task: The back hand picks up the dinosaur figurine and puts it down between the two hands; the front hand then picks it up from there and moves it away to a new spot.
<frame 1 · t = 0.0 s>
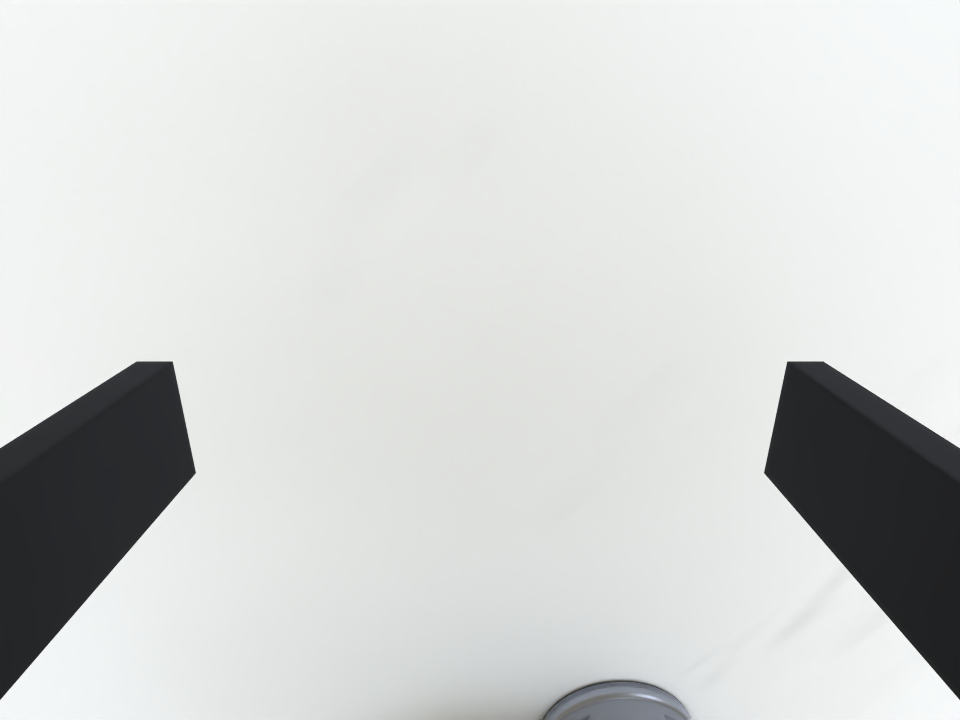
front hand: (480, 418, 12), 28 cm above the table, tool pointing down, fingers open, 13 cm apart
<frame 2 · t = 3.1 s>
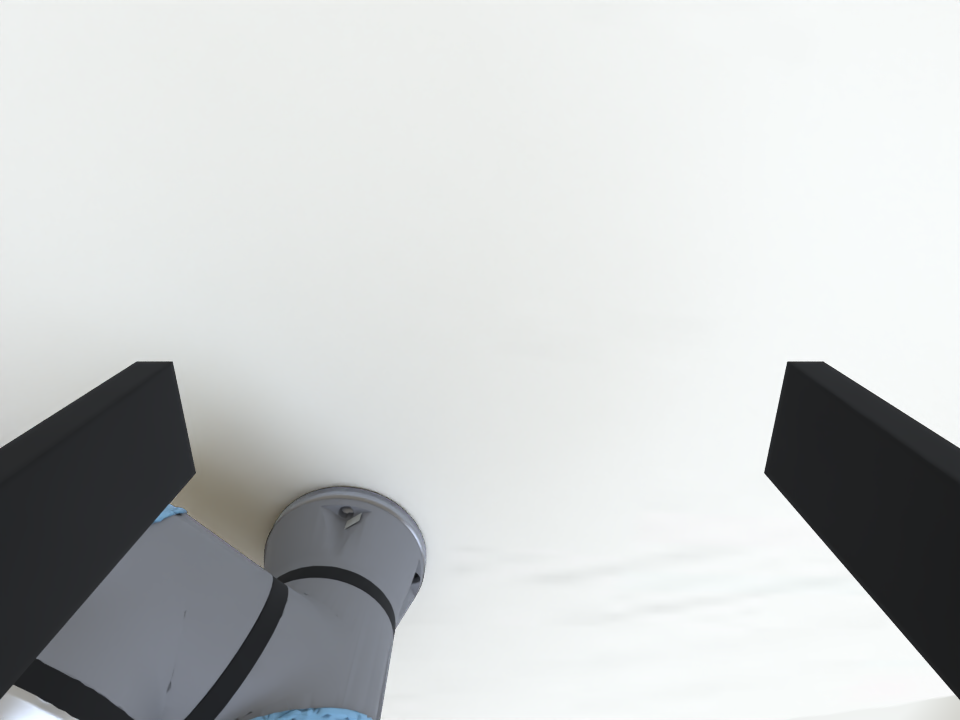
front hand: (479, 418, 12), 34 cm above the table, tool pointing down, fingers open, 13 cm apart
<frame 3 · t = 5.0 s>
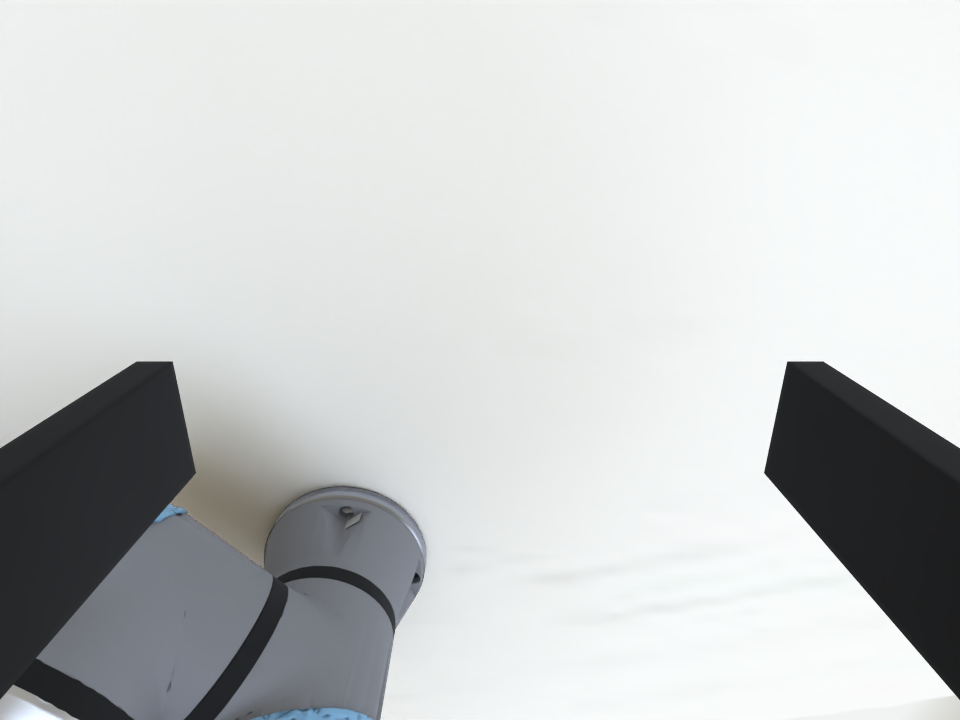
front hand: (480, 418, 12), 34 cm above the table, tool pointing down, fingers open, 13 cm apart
when the back hand's fingers open (2 cm above the table, at t = 7.1 s): dinosaur figurine drops 1 cm, on the table.
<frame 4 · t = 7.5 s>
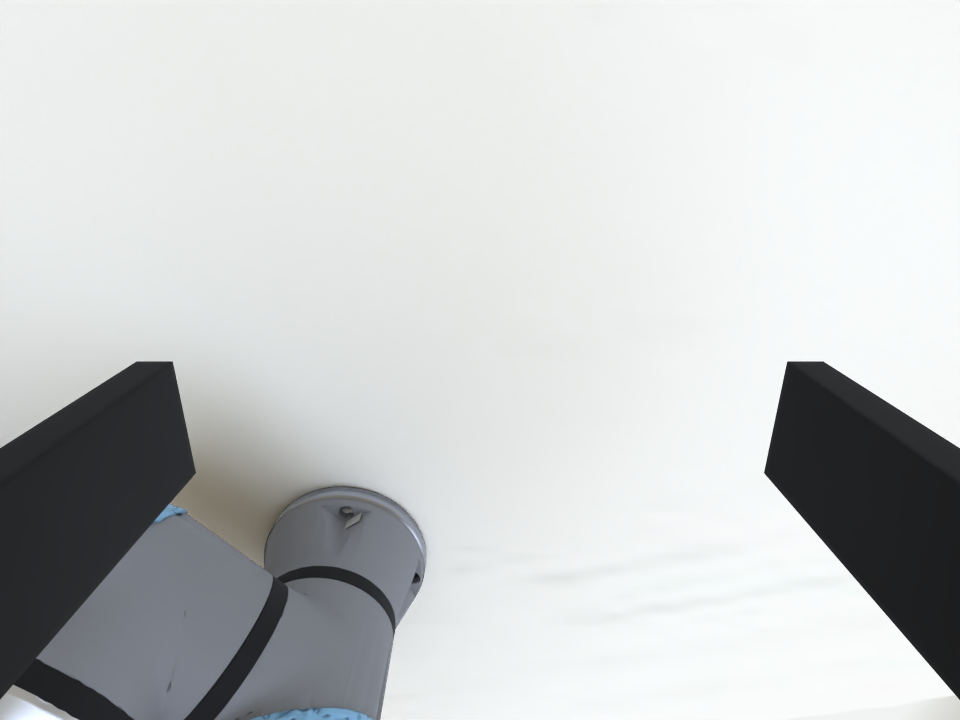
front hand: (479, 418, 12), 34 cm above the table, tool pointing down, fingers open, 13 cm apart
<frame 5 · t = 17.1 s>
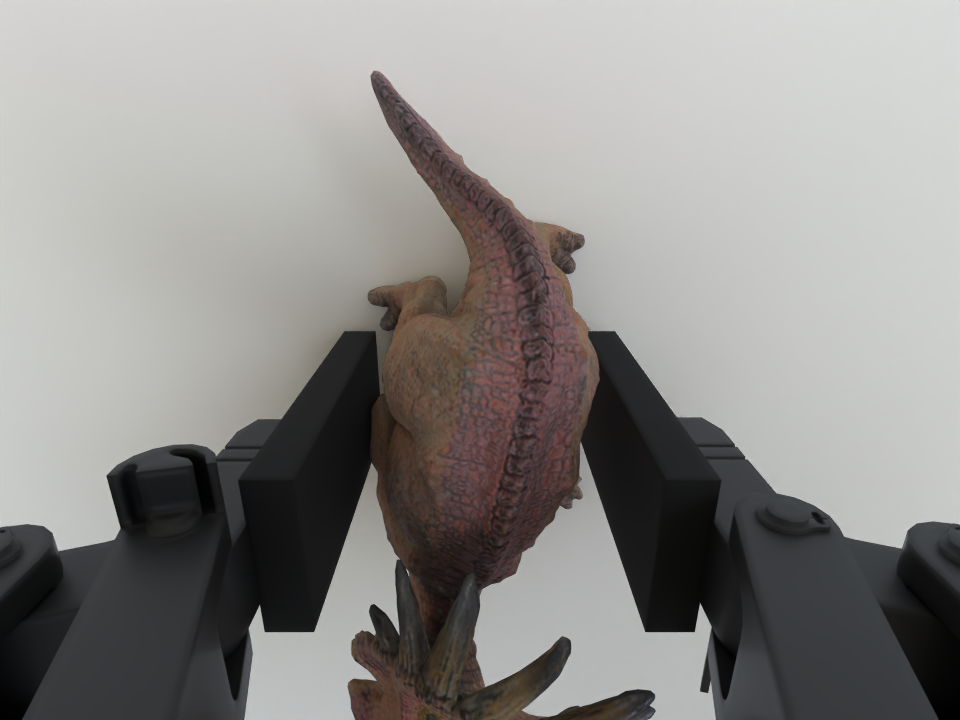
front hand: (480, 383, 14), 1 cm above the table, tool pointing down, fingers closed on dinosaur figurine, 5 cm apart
dinosaur figurine: (483, 369, 15), on the table, touching front hand
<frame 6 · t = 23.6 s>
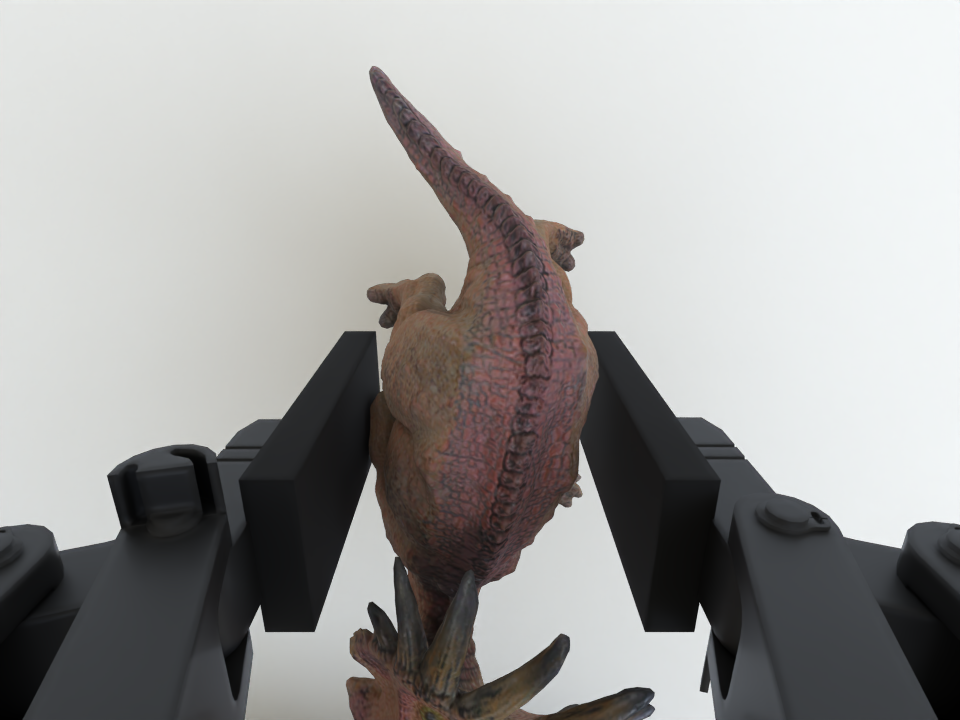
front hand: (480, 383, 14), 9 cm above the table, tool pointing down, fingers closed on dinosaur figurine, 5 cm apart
dinosaur figurine: (482, 367, 15), point 8 cm above the table, touching front hand
when the front hand's fingers open (2 cm above the table, at t = 30.3 s): dinosaur figurine drops 1 cm, on the table.
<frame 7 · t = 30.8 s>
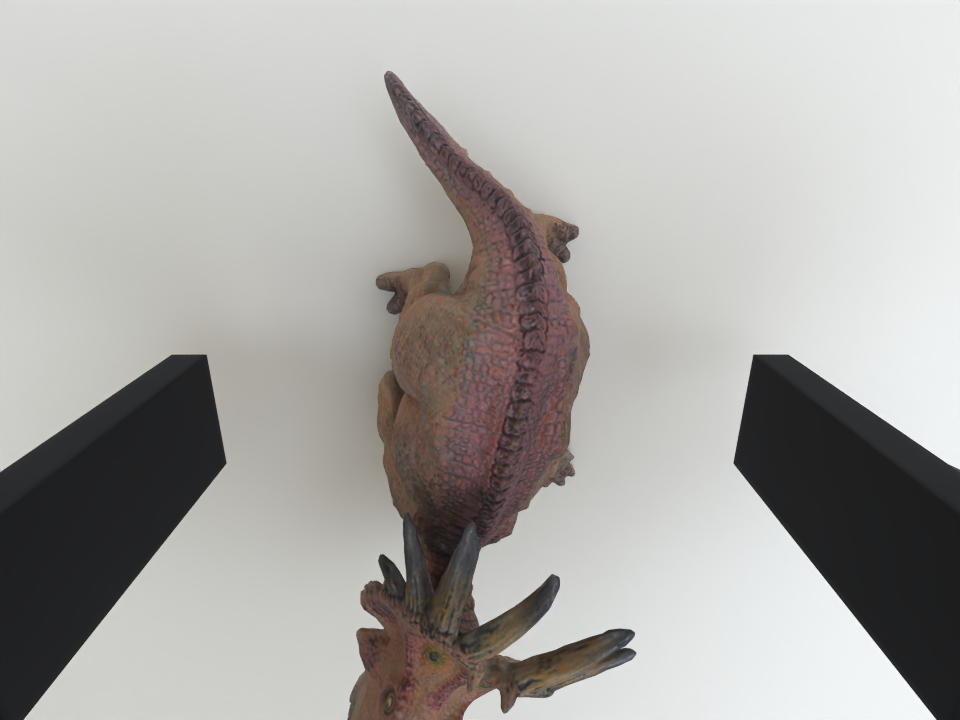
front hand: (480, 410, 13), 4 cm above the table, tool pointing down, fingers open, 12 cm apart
dinosaur figurine: (482, 352, 16), on the table
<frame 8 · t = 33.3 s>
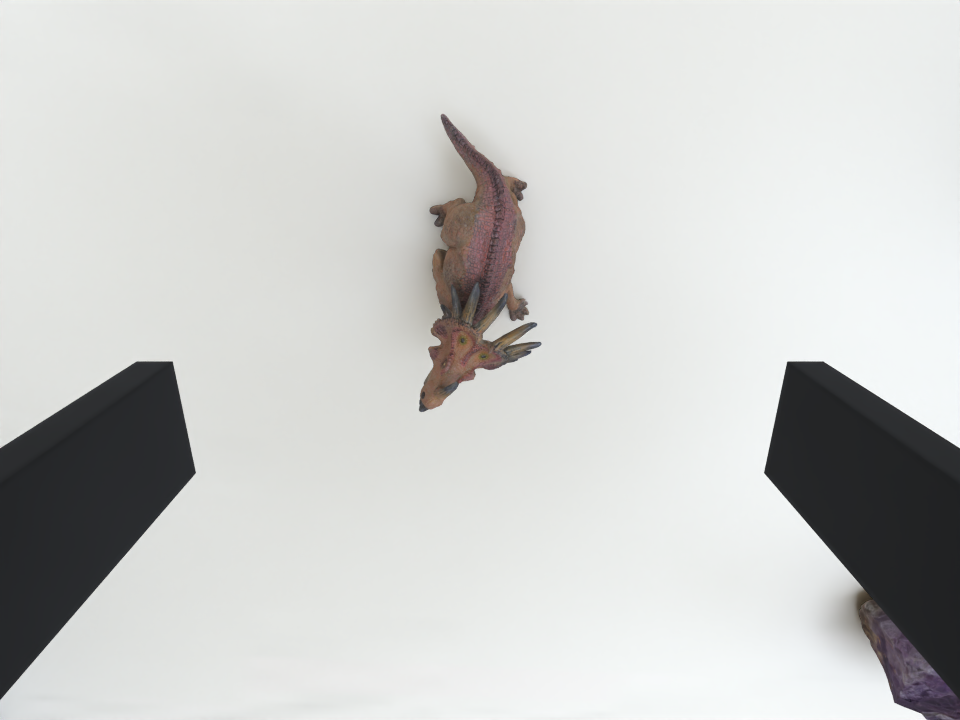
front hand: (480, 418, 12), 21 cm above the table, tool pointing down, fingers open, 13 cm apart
rock: (929, 606, 42), on the table
dinosaur figurine: (481, 247, 32), on the table
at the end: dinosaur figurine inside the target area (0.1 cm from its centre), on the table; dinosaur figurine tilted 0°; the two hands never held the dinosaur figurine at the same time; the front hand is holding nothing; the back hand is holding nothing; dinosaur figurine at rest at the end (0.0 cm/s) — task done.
